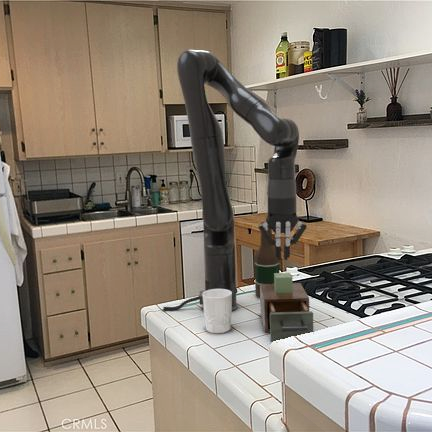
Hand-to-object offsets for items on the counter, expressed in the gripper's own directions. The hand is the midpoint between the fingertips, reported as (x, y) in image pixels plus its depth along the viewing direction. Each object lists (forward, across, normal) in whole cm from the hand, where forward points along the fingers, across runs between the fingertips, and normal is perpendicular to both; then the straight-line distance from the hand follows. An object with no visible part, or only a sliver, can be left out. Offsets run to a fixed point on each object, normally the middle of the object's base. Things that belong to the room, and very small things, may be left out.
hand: (282, 259), depth 135 cm
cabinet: (+18, 0, 0) cm, 18 cm away
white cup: (+18, -18, -3) cm, 26 cm away
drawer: (+17, 0, -12) cm, 21 cm away
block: (+9, 0, 0) cm, 9 cm away
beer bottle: (+18, -2, +24) cm, 30 cm away
